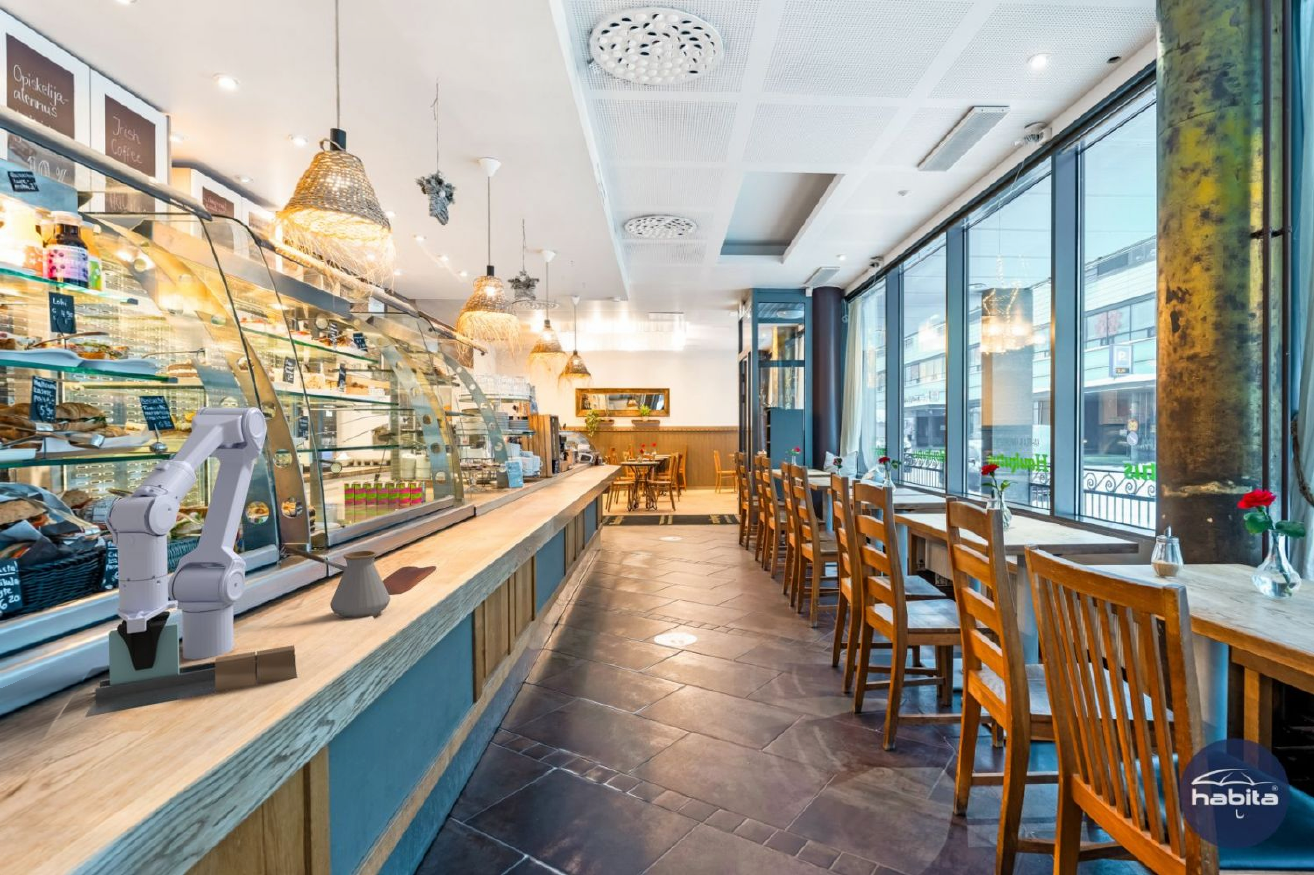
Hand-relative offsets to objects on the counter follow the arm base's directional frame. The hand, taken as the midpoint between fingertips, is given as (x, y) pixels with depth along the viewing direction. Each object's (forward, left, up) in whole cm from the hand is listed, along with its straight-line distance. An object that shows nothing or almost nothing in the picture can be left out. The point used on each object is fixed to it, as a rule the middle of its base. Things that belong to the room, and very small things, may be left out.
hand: (145, 666), depth 95 cm
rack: (+2, +7, -4) cm, 8 cm away
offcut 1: (+7, +12, -3) cm, 14 cm away
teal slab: (0, 0, -3) cm, 3 cm away
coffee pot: (-27, +28, -4) cm, 39 cm away
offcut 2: (+7, +17, -3) cm, 18 cm away
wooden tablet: (-49, +45, -5) cm, 67 cm away
